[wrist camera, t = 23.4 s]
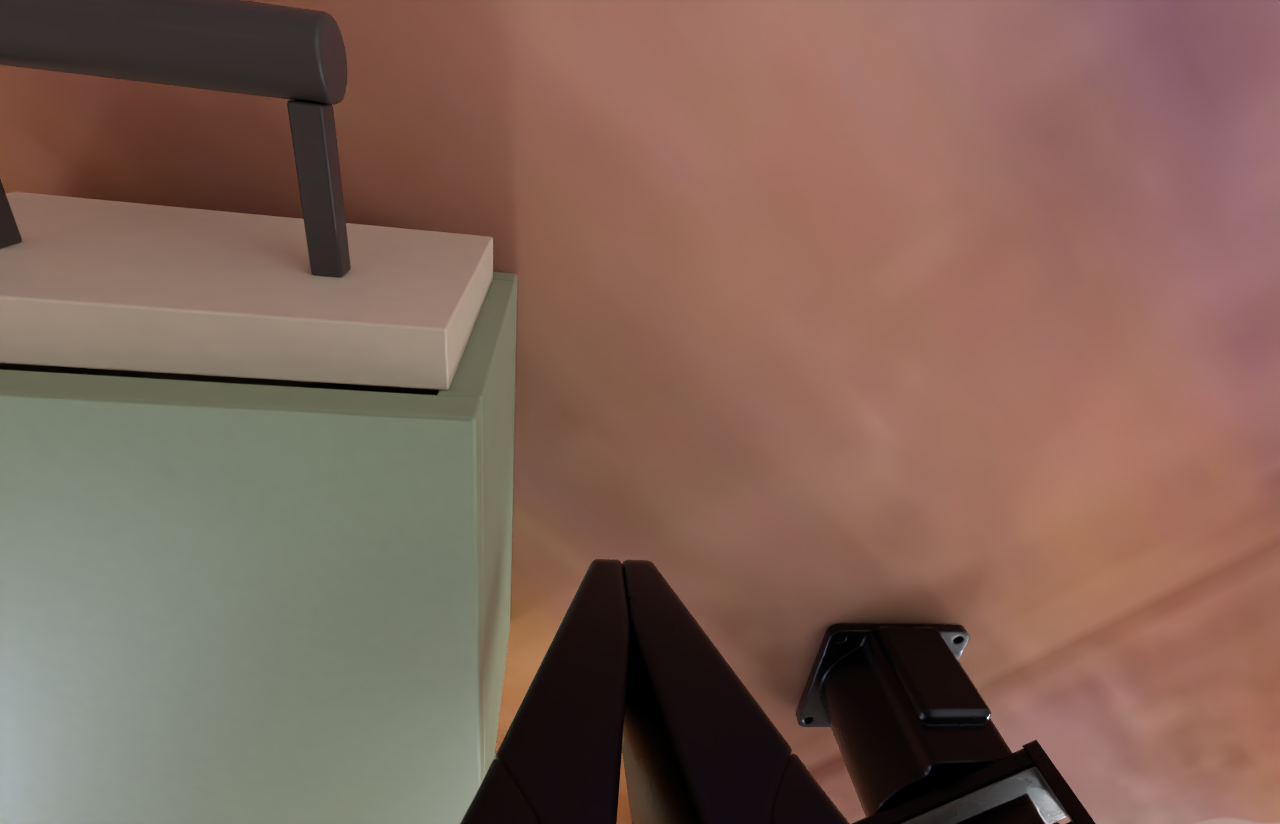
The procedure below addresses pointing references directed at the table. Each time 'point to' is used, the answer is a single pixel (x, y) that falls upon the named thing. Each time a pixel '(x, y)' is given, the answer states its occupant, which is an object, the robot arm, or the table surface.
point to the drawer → (224, 225)
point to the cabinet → (255, 594)
